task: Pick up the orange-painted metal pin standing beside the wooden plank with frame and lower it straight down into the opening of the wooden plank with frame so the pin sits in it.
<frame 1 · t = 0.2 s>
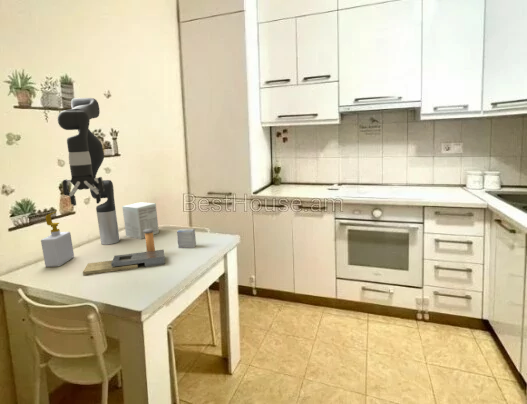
hand: (86, 204, 138), 29 cm above the table, tool pointing down, fingers open, 8 cm apart
soap bottle: (60, 262, 158), on the table
supplement box: (142, 235, 197), on the table
wooden plank with frame: (126, 265, 150), on the table
medicine box: (187, 247, 172), on the table
pin: (151, 254, 163), on the table
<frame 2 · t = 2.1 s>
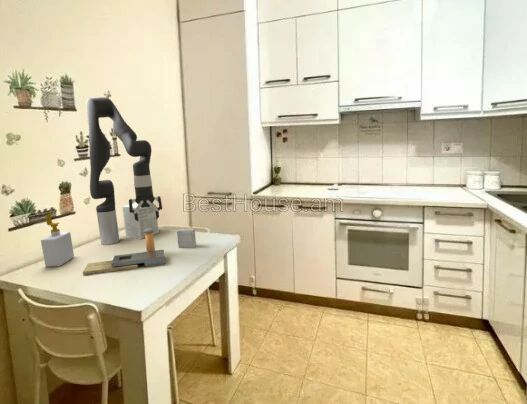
hand: (147, 219, 159), 17 cm above the table, tool pointing down, fingers open, 8 cm apart
nothing on the table moved.
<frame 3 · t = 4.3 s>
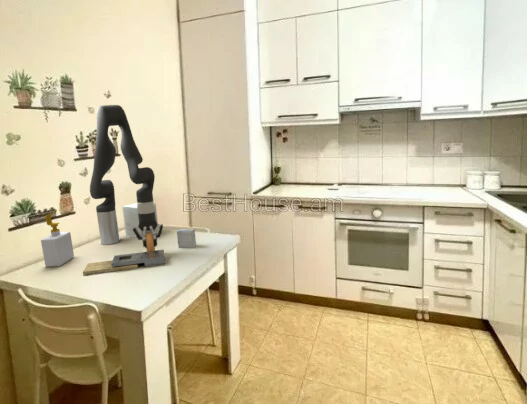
hand: (150, 246, 162), 4 cm above the table, tool pointing down, fingers closed on pin, 3 cm apart
pin: (151, 254, 163), on the table, touching gripper
everything else where it was.
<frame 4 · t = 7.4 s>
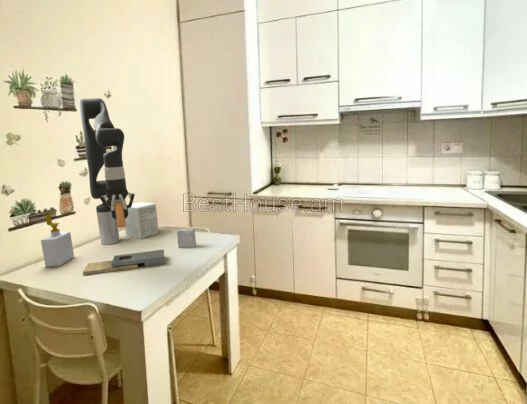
hand: (120, 218, 146), 21 cm above the table, tool pointing down, fingers closed on pin, 3 cm apart
pin: (121, 226, 146), point 17 cm above the table, touching gripper
everything else where it was.
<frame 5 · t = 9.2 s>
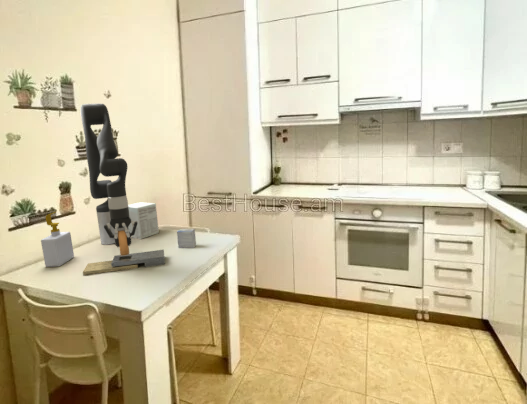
hand: (123, 245, 148), 9 cm above the table, tool pointing down, fingers closed on pin, 3 cm apart
pin: (124, 254, 149), point 5 cm above the table, touching gripper
everything else where it was.
when the fingers open (5 cm above the table, at t = 10.7 s): pin drops 1 cm, resting in wooden plank with frame.
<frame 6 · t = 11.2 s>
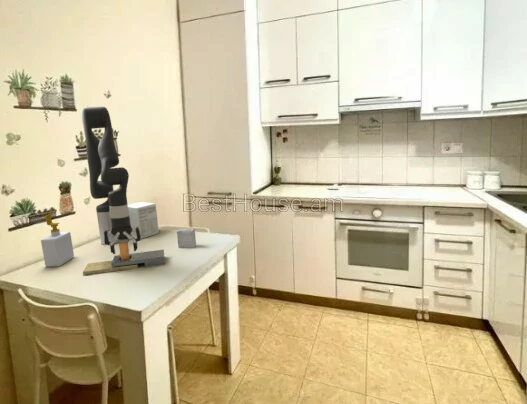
hand: (124, 252, 148), 6 cm above the table, tool pointing down, fingers open, 8 cm apart
pin: (126, 265, 150), resting in wooden plank with frame
everything else where it was.
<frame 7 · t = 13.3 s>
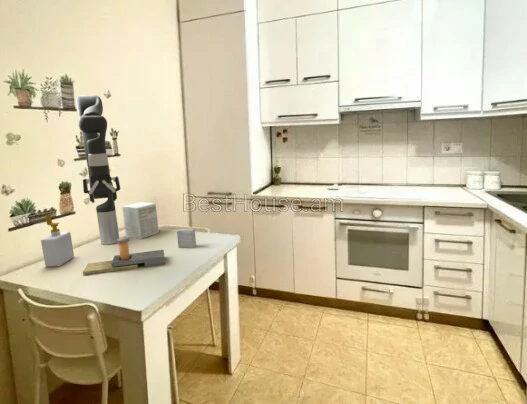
hand: (104, 201, 150), 28 cm above the table, tool pointing down, fingers open, 8 cm apart
nothing on the table moved.
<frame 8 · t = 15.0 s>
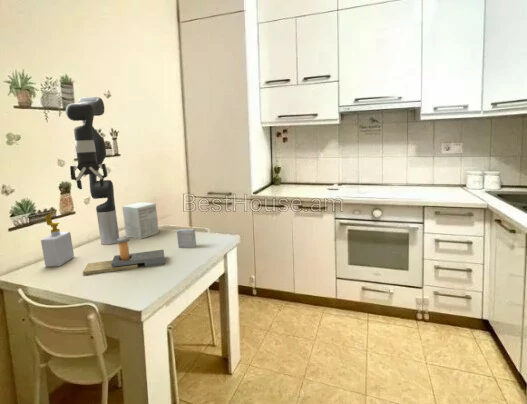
hand: (91, 188, 152), 33 cm above the table, tool pointing down, fingers open, 8 cm apart
nothing on the table moved.
at the end: pin 0.1 cm off-centre on the wooden plank with frame, point 0.0 cm above the wooden plank with frame's base; pin tilted 0°; the gripper is holding nothing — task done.
